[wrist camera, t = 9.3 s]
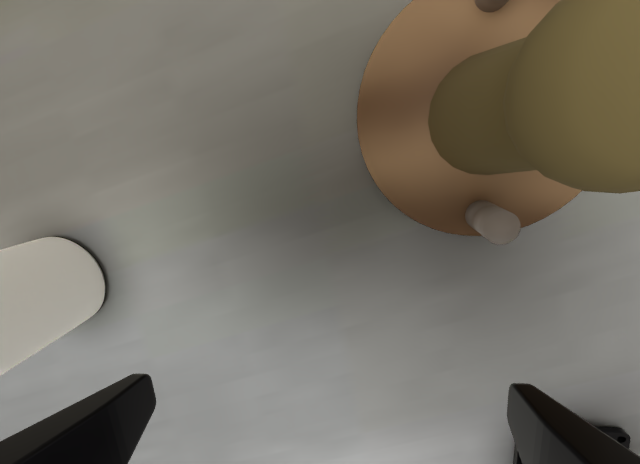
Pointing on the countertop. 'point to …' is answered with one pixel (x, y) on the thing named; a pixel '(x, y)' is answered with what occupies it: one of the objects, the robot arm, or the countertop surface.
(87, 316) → the can
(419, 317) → the countertop surface
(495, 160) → the cork
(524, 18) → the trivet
